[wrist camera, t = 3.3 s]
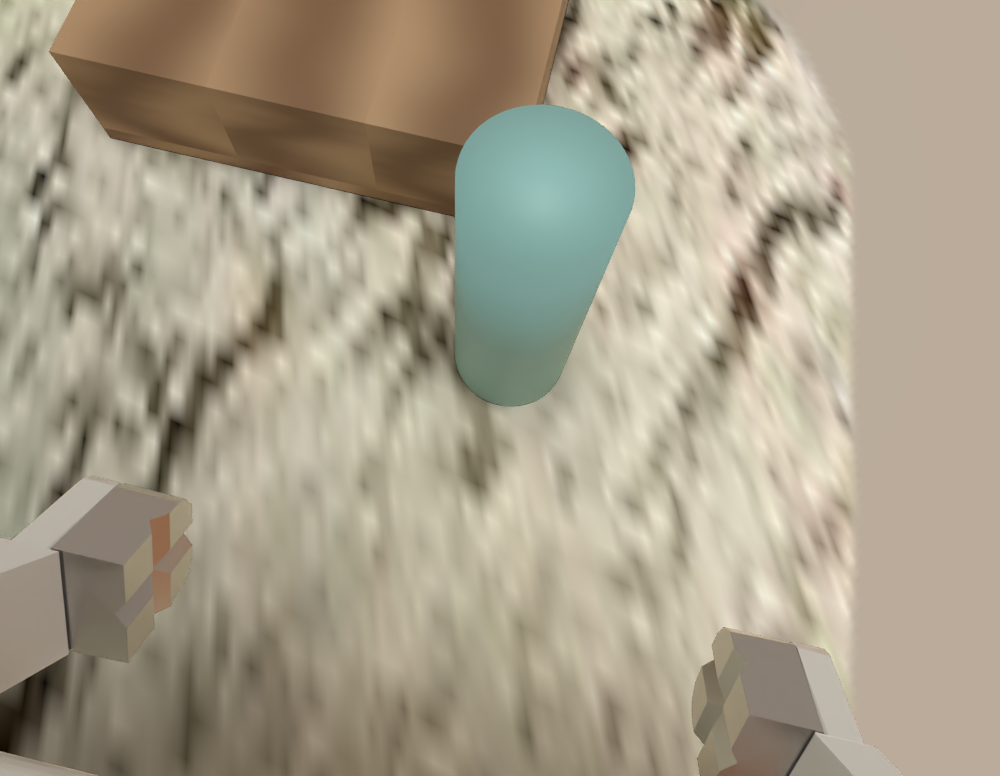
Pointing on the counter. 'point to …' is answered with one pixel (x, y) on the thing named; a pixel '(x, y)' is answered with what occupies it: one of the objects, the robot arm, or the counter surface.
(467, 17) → the bore block
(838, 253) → the counter surface
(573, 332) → the pin
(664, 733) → the counter surface
